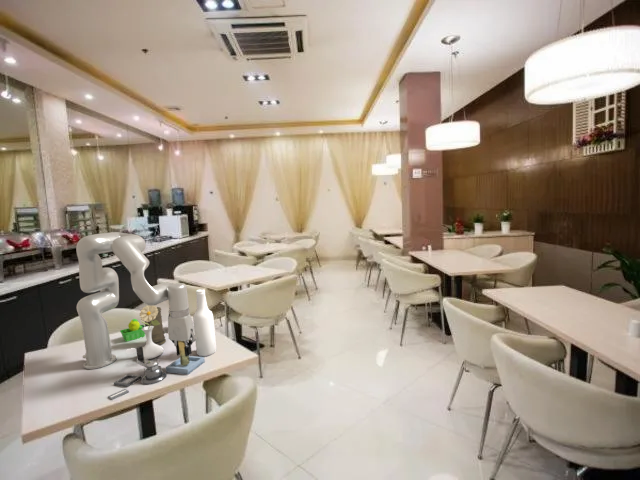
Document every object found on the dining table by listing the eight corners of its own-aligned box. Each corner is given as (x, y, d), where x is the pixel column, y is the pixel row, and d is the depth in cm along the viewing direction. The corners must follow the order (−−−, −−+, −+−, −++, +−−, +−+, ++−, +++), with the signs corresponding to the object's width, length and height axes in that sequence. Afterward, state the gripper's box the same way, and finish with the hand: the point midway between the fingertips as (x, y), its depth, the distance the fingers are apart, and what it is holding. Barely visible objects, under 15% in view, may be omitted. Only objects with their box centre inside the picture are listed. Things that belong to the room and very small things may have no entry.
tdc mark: (125, 389, 131) (124, 388, 131) (128, 392, 129) (128, 390, 129) (107, 397, 126) (107, 396, 126) (111, 400, 124) (111, 398, 124)
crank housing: (114, 385, 135) (112, 375, 134) (138, 370, 146) (137, 361, 146) (148, 389, 129) (147, 379, 129) (171, 374, 141) (170, 364, 140)
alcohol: (193, 354, 159) (186, 291, 155) (209, 347, 166) (203, 286, 162) (204, 358, 153) (197, 293, 150) (220, 351, 160) (214, 288, 157)
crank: (161, 367, 138) (159, 351, 137) (150, 372, 134) (148, 355, 134) (145, 359, 146) (143, 344, 145) (134, 364, 143) (132, 348, 142)
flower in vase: (131, 360, 156) (124, 307, 153) (151, 349, 167) (145, 300, 164) (153, 363, 152) (146, 309, 149) (172, 352, 162) (166, 301, 159)
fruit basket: (143, 333, 191) (141, 313, 190) (148, 337, 184) (146, 316, 183) (120, 339, 183) (118, 319, 182) (125, 344, 177) (122, 322, 175)
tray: (166, 372, 143) (165, 367, 143) (183, 360, 153) (183, 355, 153) (188, 374, 140) (187, 369, 139) (204, 362, 150) (204, 357, 150)
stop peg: (178, 364, 145) (175, 337, 144) (184, 360, 148) (181, 334, 147) (185, 365, 144) (182, 338, 143) (191, 361, 147) (188, 334, 146)
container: (169, 341, 176) (165, 307, 174) (152, 348, 168) (148, 313, 166) (159, 338, 181) (155, 305, 179) (142, 345, 173) (138, 311, 171)
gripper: (157, 315, 143) (162, 357, 145) (190, 316, 138) (195, 360, 140) (169, 309, 150) (174, 349, 152) (202, 310, 145) (206, 352, 147)
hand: (184, 354), depth 146 cm, fingers closed on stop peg, 3 cm apart
